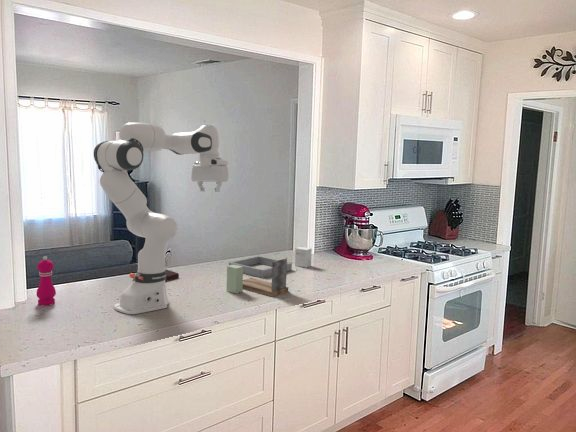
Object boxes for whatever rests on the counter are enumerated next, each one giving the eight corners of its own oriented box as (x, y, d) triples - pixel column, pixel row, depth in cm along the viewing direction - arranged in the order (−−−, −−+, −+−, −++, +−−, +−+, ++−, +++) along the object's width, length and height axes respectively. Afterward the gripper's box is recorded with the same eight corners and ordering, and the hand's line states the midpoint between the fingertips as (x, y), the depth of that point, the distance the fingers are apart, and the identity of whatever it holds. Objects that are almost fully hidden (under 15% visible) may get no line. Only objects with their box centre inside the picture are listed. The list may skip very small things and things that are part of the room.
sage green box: (235, 293, 231) (236, 268, 229) (226, 290, 235) (227, 266, 233) (242, 291, 234) (243, 266, 233) (233, 289, 238) (233, 264, 236)
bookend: (272, 296, 228) (273, 262, 226) (234, 286, 243) (235, 254, 241) (288, 291, 238) (289, 258, 236) (250, 281, 252) (251, 250, 250)
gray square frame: (262, 278, 260) (262, 270, 259) (228, 269, 275) (228, 262, 275) (291, 269, 280) (292, 262, 279) (258, 262, 295) (258, 255, 294)
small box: (311, 266, 290) (312, 248, 289) (306, 267, 286) (307, 249, 284) (299, 264, 295) (300, 246, 293) (294, 265, 290) (295, 247, 289)
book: (179, 278, 254) (179, 272, 254) (148, 286, 239) (148, 279, 238) (162, 274, 261) (162, 268, 261) (131, 281, 246) (131, 275, 245)
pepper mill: (43, 307, 202) (42, 259, 199) (33, 303, 206) (31, 256, 203) (59, 303, 208) (58, 256, 205) (49, 299, 212) (48, 253, 209)
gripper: (188, 161, 232) (188, 191, 233) (221, 160, 221) (221, 192, 222) (197, 162, 238) (198, 191, 239) (230, 161, 226) (230, 191, 227)
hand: (209, 191), depth 230 cm, fingers open, 8 cm apart
